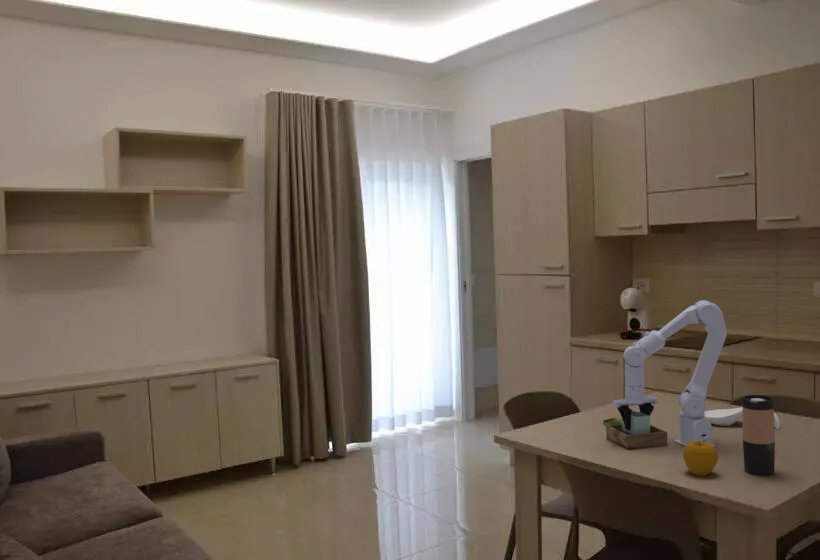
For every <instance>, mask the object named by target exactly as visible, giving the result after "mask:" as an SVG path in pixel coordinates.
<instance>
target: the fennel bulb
mask: <svg viewBox="0 0 820 560" xmlns="http://www.w3.org/2000/svg"><path fill="white" fill-rule="evenodd" d="M632 411H636V410H634V409H632ZM602 423H603V424H604V425H605V426H609V425H618V424H622V416H621V414H620V415H618V416H616V417H613V418H609V419H603V420H602Z"/></svg>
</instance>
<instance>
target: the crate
mask: <svg viewBox="0 0 820 560" xmlns="http://www.w3.org/2000/svg"><path fill="white" fill-rule="evenodd" d="M605 426H606V425H605ZM605 431H606V440H608V441H610V442H612V443H613V444H615V445H618V446H619V447H621V448H623V449H625V450H627V451H634V450H635V451H636V450H643V449H651V448H652V449H653V448H660V447H668V431H666V430H664V429H662V428H659V427H657V426H654V425H652V424H650V433H646V434H637V435H630V434H628V433H626V432H624V431H622V424H618V425H609V426H606V429H605Z"/></svg>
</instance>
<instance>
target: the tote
mask: <svg viewBox="0 0 820 560" xmlns="http://www.w3.org/2000/svg"><path fill="white" fill-rule="evenodd" d="M650 418H651V415H650V416H648V415H646V414H643V413H641V412H640V411H638V410H635V411H632V413H631V429H630V430H627V429H625V425H624V422H623V419H622V431H624V432H626V433H628V434H630V435H637V434H646V433H650V425H651V421H650V420H651V419H650Z"/></svg>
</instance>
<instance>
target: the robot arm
mask: <svg viewBox="0 0 820 560" xmlns="http://www.w3.org/2000/svg"><path fill="white" fill-rule="evenodd" d="M699 323H701V324H702V326H703V327H704V329H705V330H706V333H707V336H706V339H705V341H704V344H703V346H702V350H701V352H700V355H699V357H698V360H697V363H696V366H695V368H694V371H693V373H692V375H691V380H690V381H689V383H688V384H687V385H686V387H685V388H684V391H682V392H681V393H680V394H679V396H678V404H679V406H680V408H681V411H679V413H678V414H679V439H674V440H673V442H675V443H677V444H679V445H682V446H684V447H685V446H686V444H687V443H689V442H691V441H702V442H707V443H709V444H711V445H713V447H714V448H715V447H716V445H715V444H713V426H712V425H713V424H711V423H710V422H709V421H708V420H706V418H705V413H704V412H705V411H706V399H707V394H708V393H707V390H708V386H709V384H710V381H711V378H712V375H713V373H714V370H715V367H716V364H717V362H718V359H719V357H720V354H721V352H722V350H723V349H722V348H723V346H724V344H725V340H726V338H727V335H728V331H727V326H726V322H725V319H724V313H723V311H722V310H721V309H720V308H719V306H718V305H717V304H716V303H714V302H710V301H709V300H705V299H704V300H703V299H701V300H699V301H696V302H695V304H694V305H693V304H692V305H690V306H688V307H687V308H686V309H684V310H683V311H681V313H679V314H678V315H677V316H676V317H675V318H673V319H672V320H670V321H669V322H667V324H666V325H664V326H662V327H661V328H660V329H659V330H650V331H646V332H645V333H644V336H643V337H641V338H640V339H639V340H637V341H634V342H632V346H631V345H630V346H627V348H625V350H624V352H623V355H622V356H623V359H624V361H625V362H624V386H625V387H624V388H625V389H624V391H625V392H624V393H625V397H624V398H620V399H615V400H612V407H613V408H615V409H617V410H618V412H619V414H620V415H621V416H622V419H623V422H624V425H625V429H627V430H630V429H631V413H632V410H633V409H632V408H630V407H632V406H635V407H636V406H638V408H639V412H641V413H643V414H646V415H648V416H650V417H651V415H652V413H653V411H654V410H655V405H658V404H659V398H658V397H657V396H646V395H645V391H646V390H645V370H644V363H645V361H646V358H650V356H653V355H654V354H655V353H656V352H657V351H659V350H660V349H662V348H663V347H665V346H666V341H667V339H668V338H669V337H671V336H673V335H675V333H678V331H680V330H681V329H683V328H684V327H686V326H688V325H693V324H699Z"/></svg>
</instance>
